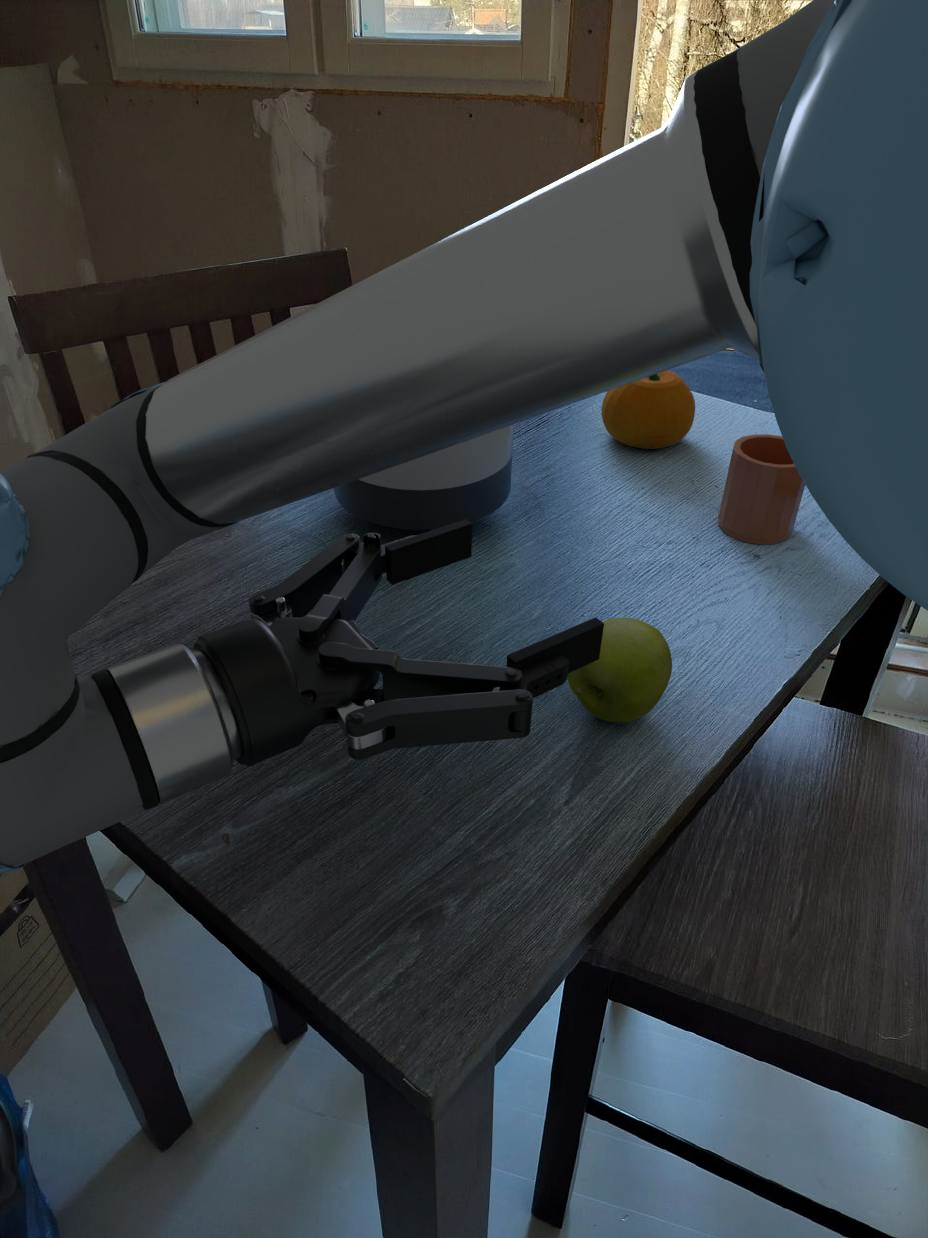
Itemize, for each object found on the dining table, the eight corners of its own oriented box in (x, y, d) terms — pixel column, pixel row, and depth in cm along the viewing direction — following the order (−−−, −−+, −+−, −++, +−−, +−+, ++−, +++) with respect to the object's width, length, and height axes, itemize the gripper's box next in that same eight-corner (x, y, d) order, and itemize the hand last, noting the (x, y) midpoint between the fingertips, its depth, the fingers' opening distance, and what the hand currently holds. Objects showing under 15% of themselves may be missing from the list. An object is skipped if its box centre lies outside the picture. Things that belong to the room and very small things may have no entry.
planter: (525, 549, 88) (535, 384, 78) (338, 561, 86) (323, 394, 76) (493, 465, 104) (498, 318, 93) (334, 474, 101) (320, 324, 91)
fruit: (580, 438, 110) (587, 362, 104) (631, 412, 117) (641, 340, 111) (657, 467, 104) (670, 388, 98) (706, 437, 111) (721, 362, 105)
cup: (803, 524, 93) (825, 449, 88) (771, 552, 88) (792, 474, 83) (738, 501, 97) (755, 427, 92) (704, 526, 93) (720, 450, 87)
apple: (540, 716, 68) (547, 637, 63) (601, 661, 74) (611, 585, 69) (624, 762, 64) (638, 682, 60) (682, 700, 70) (699, 622, 65)
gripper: (153, 640, 56) (426, 547, 66) (324, 918, 40) (655, 740, 49) (128, 542, 51) (425, 458, 61) (309, 811, 35) (676, 638, 45)
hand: (528, 583), depth 55 cm, fingers open, 13 cm apart
